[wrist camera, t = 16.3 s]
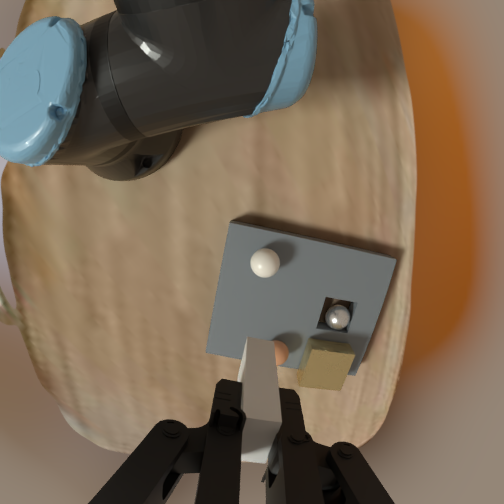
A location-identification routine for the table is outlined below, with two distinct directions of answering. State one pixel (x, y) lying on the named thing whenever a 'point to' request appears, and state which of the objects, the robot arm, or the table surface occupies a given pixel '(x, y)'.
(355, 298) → the slate plate
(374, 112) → the table surface
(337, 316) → the steel ball
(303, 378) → the brass cover
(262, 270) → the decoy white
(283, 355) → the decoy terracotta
